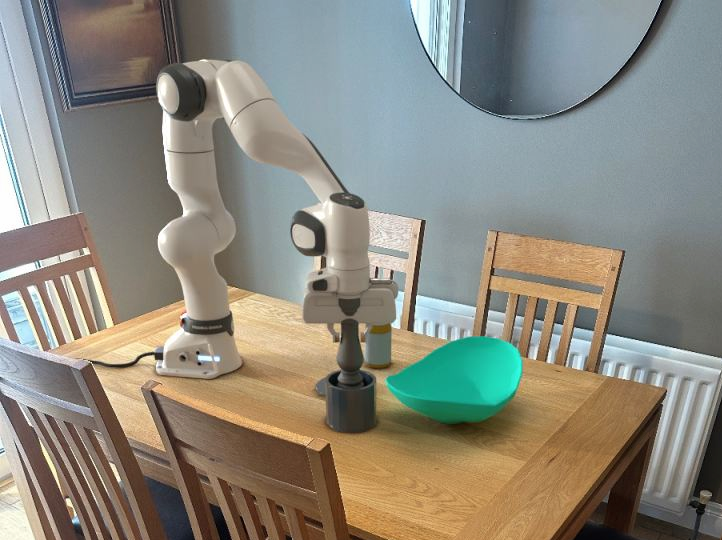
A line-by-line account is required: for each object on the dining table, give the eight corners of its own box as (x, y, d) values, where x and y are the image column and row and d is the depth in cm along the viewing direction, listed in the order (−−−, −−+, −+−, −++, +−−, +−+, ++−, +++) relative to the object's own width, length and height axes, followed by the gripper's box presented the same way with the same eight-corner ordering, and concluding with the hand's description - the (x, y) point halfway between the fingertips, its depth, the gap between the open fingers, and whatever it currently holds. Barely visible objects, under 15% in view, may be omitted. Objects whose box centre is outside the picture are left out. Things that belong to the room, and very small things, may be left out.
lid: (314, 400, 180) (313, 382, 177) (317, 379, 190) (316, 362, 187) (366, 400, 180) (365, 382, 177) (365, 379, 190) (365, 361, 188)
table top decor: (447, 374, 193) (450, 325, 186) (542, 402, 180) (550, 351, 172) (355, 431, 167) (354, 377, 159) (458, 469, 154) (463, 413, 146)
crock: (325, 433, 166) (324, 390, 160) (327, 409, 176) (326, 368, 170) (376, 432, 167) (376, 390, 160) (375, 409, 176) (375, 368, 170)
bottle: (392, 359, 201) (392, 306, 192) (389, 369, 195) (390, 315, 187) (367, 358, 202) (366, 305, 193) (363, 368, 196) (363, 314, 187)
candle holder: (367, 393, 170) (368, 287, 155) (358, 405, 165) (357, 296, 150) (343, 389, 171) (341, 283, 157) (333, 400, 166) (330, 292, 152)
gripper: (397, 273, 155) (396, 336, 163) (301, 273, 154) (304, 336, 162) (399, 283, 150) (397, 347, 158) (299, 283, 149) (303, 347, 157)
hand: (349, 341), depth 160 cm, fingers closed on candle holder, 5 cm apart
